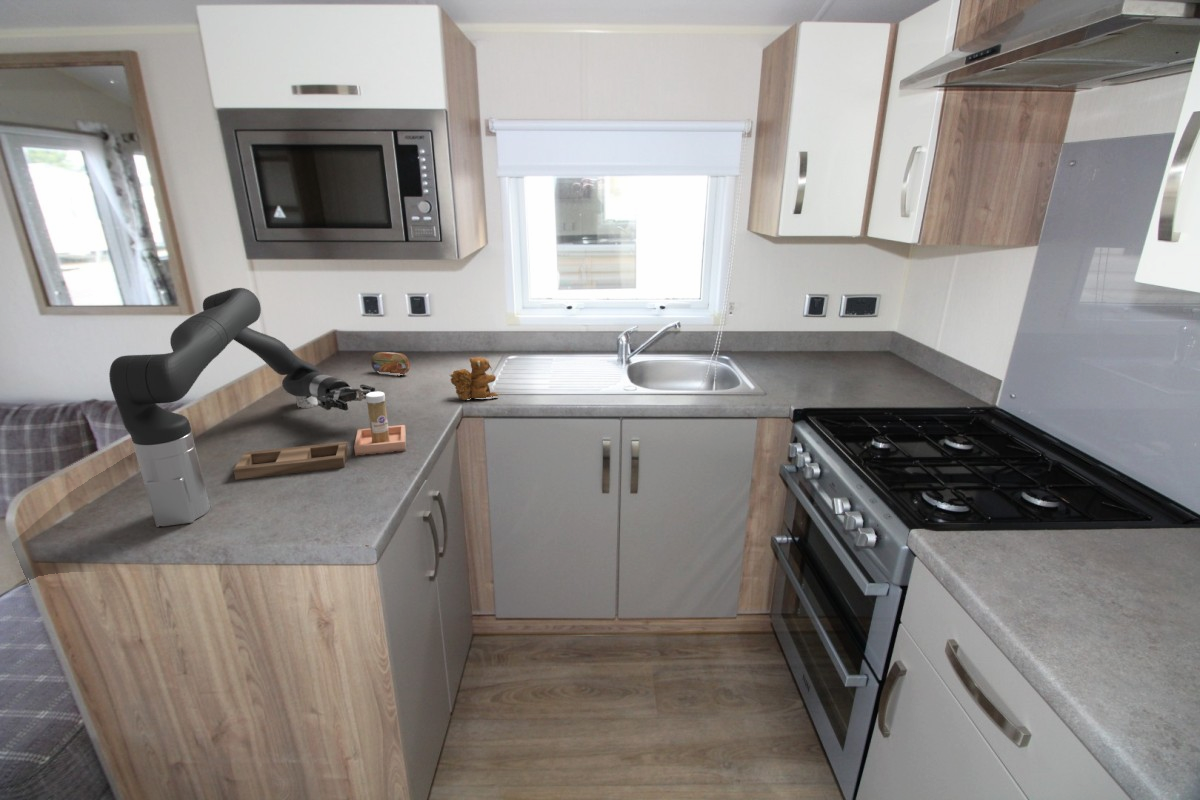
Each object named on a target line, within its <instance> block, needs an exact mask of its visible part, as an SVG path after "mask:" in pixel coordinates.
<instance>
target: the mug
mask: <svg viewBox="0 0 1200 800" xmlns="http://www.w3.org/2000/svg"><path fill="white" fill-rule="evenodd" d="M295 400H296V404H297V405H296V406H298V407H297V408H299V407H301V408H300V409H311V408H310V407H313V408H316V407H318V406H317V405H318V402H317V399H316V398H315V397H313V396H305V397H300V396H295ZM315 406H316V407H315Z"/></svg>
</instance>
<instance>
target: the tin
mask: <svg viewBox="0 0 1200 800" xmlns="http://www.w3.org/2000/svg"><path fill="white" fill-rule="evenodd" d="M370 362H371V363H370V364H371V367H372V369H373V371H374V372H375V373H376V372H377V371H379V372H390V373H400V374H405V373H406V374H407V373H409V371H410V367H411V364H410V360H409V358H408V357H407V356H406V355H405V354H404V353H401V352H400V353H398V352H387V351H379V352H376V353H373V355H372V357H371V360H370ZM406 374H405V375H406Z"/></svg>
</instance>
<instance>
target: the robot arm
mask: <svg viewBox="0 0 1200 800" xmlns="http://www.w3.org/2000/svg"><path fill="white" fill-rule="evenodd" d="M202 309H203V311H201V312H198V313H196V314H194V315H192V316H190V317H188V318H187V319H185V320H184V321H183V322H181V323H180V324H178V326H177V327H175V328H174V330H173V331H172V333H171V336H170V342H169V343H170V347H171V350H172V352H168V353H155V354H131V355H129V354H128V355H121V356H118V357H117V358H115V359H114V360H113V361H112V363H111V365H110V369H109V373H108V374H109V383H110V388H111V392H112V395H113V397H114V402H115V404H116V405H117V409H118V411H119V414H120V417H121V420H122V423H123V426H124V428H125V430H126V431H127V433H128V434H129V436H130V438H131V441H132V445H133V448H134V451H135V456H136V459H137V463H138V465H139V469H140V473H141V474H140V475H141V476H142V477H141V478H142V480H143V484H144V487H145V491H146V494H147V497H148V502H149V505H150V508H151V512H152V516H153V519H154V523H155V525H156V526H155V527H156V528H159V526H162V527H168V526H175V525H184V524H190V523H191V524H192V523H194V522H195V521H196V519H199V518H201V517H203V516H204V515H206V514H207V513H208V512H209V511H210V508H211V506H210V502H209V501H210V500H209V498H208V493H207V489H206V485H205V481H204V477H203V471H202V469H201V465H200V461H199V456H198V452H197V449H196V444H195V439H194V435H193V431H192V427H191V423H190V420H189V419H188V417H186V416H185V415H183V414H180V413H176V412H172V411H169V410H166V409H164V408H162V407H161V406H159V405H158V404H171V403H175V402H178V401H180V400H182V399H183V398H184V397H185V396H186V395H187V394H188V393H189V391H190V390H191V388H192V387H193V386H194V384H195V383H196V381H197V380H198V378H199V377H200V375H201V374H202V372H203V371H204V370H205V369H206V368H207V367H208V366H209V364H211V362H213V360H214V359H215V358H216V357H218V356H219V355H220V354H221V353H222V352H223V351H224V350H225V349H226V348H227V346H229V344H230V343H231V342H232V341H235V342H236V343H238V344H239V345H241V346H243V347H245V348H246V349H248V350H249V351H251V352H252V353H253V354H255V356H258V357H259V358H260V359H261V360H262V361H264V362H265V364H266V365H268V366H269V367H270V368H271V369H272V370H273V371H274V372H275V373H277V374H278V375H281V376H284V378H283V379H282V382H281V385H282V388H283V389H284V390H285V392H286V393H288V394H290V395H292V396H295V397H296V396H300V397H305V396H313V397H315V398H316V399H317V402H318V406H317V407H321V408H323V409H324V410H326V411H330V410H331V409H332V408H333V409H334V410H335V409H339V410H341V411H344V412H345V411H348V410H349V408H348V407H349V406H348V402H349V403H350V402H362V401H363V400H366V394H368V393H370V392H376V388H375V387H374V386H369V385H367V384H360V385H359V387H353V386H350V385H349V383H348V382H346V381H345V380H343V379H339V378H337V377H334V376H331V375H327V374H323V373H321V372H320V371H319V369H318V368H317V367H316V366H315V365H314V364H312V363H310V362H308V361H306V360H304V359H302V358H300V357H299V356H298V355H296V354H295V353H294V352H293V351H292V350H291V349H290V348H289V346H287V344H285V343H284V342H282V341H281V340H280V339H278V338H276V337H273V336H271V335H268V334H266V333H263V332H260V331H257V330H255V329H252V328H250V327H249V326H250V325H253V324H254V323H255V322H257V321H258V320H259V318H260V316H261V313H262V312H261V311H262V308H261V302H260V300H259V298H258V297H257V295H256V294H255V293H254V292H252V291H251V290H250V289H247V288H244V287H235V288H231V289H228V290H224V291H220V292H217V293H214V294H212V295H209V296H206V297H205V298H204V300H203V302H202ZM357 396H358V397H357Z"/></svg>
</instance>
